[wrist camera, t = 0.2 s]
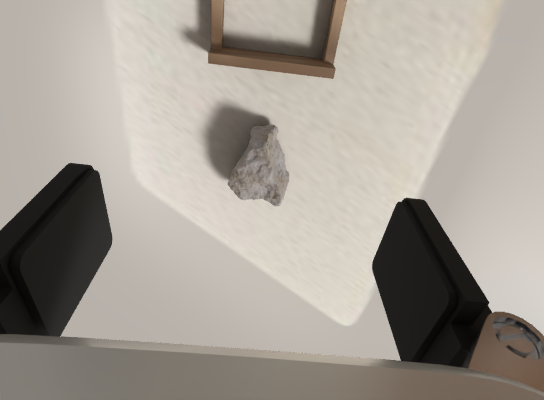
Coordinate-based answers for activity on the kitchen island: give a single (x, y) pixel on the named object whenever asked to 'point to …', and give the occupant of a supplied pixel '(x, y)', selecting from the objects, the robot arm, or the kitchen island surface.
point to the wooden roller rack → (273, 60)
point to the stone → (261, 168)
